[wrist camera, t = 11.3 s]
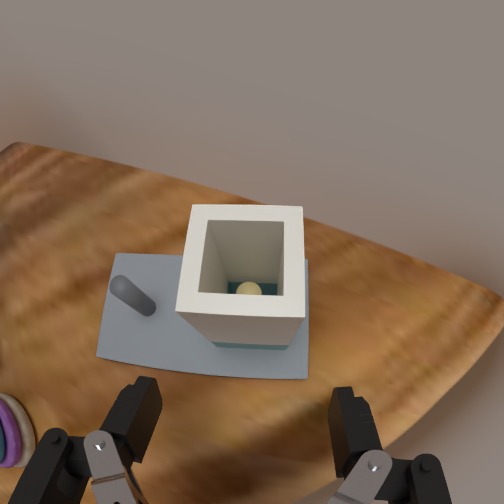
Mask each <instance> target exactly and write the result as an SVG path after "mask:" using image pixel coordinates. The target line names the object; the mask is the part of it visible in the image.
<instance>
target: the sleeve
mask: <svg viewBox="0 0 504 504" xmlns="http://www.w3.org/2000/svg"><path fill="white" fill-rule="evenodd" d="M244 282H254V283H256V284H257V285H258V286H259V287H260V289H261V292H262V295H243V294H236V291H237V288H238V287H239V286H240V285H241V284H242V283H244ZM271 295H276V296H271ZM175 311H176V312H177V313H178V314H179V315H180V316H181V317H182V318H183V319H185V320H186V321H187V322H188V323H189V324H190V325H191V326H193V327H194V328H195V329H196V330H197V331H198V332H200V333H201V334H202V335H203V336H204V337H206V338H207V339H208V340H209V341H210V342H211V343H213V344H214V345H215V346H216V347H226V348H242V349H265V350H286V349H287V347H288V346H289V344H290V342H291V341H292V339H293V337H294V336H295V334H296V332H297V330H298V329H299V327H300V325H301V324H302V322H303V320H304V318H305V263H304V231H303V208H302V206H275V205H192V210H191V216H190V221H189V226H188V232H187V237H186V243H185V249H184V255H183V261H182V267H181V274H180V280H179V287H178V294H177V301H176V309H175Z"/></svg>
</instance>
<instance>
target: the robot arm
mask: <svg viewBox="0 0 504 504" xmlns="http://www.w3.org/2000/svg"><path fill="white" fill-rule="evenodd" d="M161 411H162V398H161V394H160V391H159V387H158V384H157V380H156V379H155V378H151V377H145V376H139V377H138V378H137V380H136V382H135V384H134V385H130V384H129V385H127V386H126V387H125V388H124V389H123V390H121V392H120V393H119V395H118V397H117V400H116V401H115V402H114V404H113V406H112V408H111V409H110V411H109V413H108V415H107V417H106V419H105V420H104V422H103V424H102V426H101V428H100V429H99V430H97V431H93V432H91V433H89V434H88V435H87V436H86V437H76V436H68V435H67V433H66V432H65V431H64V430H63V429H60V428H52V429H49V430H47V431H46V432H45V433H44V435H43V437H42V438H41V440H40V442H39V444H38V445H37V447H36V449H35V451H34V453H33V455H32V456H31V458H30V460H29V462H28V464H27V466H26V468H25V470H24V472H23V473H22V475H21V477H20V479H19V481H18V483H17V485H16V487H15V490H14V492H13V494H12V496H11V498H10V500H9V502H8V504H80V502H81V499H82V496H83V493H84V491H85V488H86V486H87V483H88V480H89V478H90V477H93V482H91V486H92V490H93V493H94V496H95V499H96V502H97V504H149V503H148V502H147V500H146V498H145V497H144V494H143V492H142V490H141V488H140V486H139V484H138V482H137V480H136V477H135V475H134V473H133V470H132V468H131V466H132V463H133V461H134V462H138V463H142V460H143V457H144V455H145V452H146V450H147V447H148V444H149V442H150V439H151V437H152V434H153V431H154V429H155V426H156V424H157V421H158V419H159V416H160V413H161ZM328 423H329V430H330V436H331V442H332V449H333V456H334V463H335V470H336V477H337V478H342V477H344V482H343V484H342V485H341V486H340V488H339V489H338V490H337V492H336V493H335V494H334V495H333V496H332V497H331V499H330V500H329V501H328V502H327V504H371V502H372V501H373V500H386V501H388V504H452V502H451V498H450V495H449V491H448V487H447V483H446V480H445V477H444V473H443V470H442V467H441V463H440V461H439V460H438V458H437V457H435V456H434V455H432V454H421V455H419V456H417V457H416V458H415V459H414V460H401V459H394V458H392V457H390V456H389V455H388V454H387V453H386V452H384V451H383V449H382V446H381V443H380V439H379V436H378V433H377V429H376V426H375V423H374V419H373V416H372V413H371V410H370V406H369V404H368V403H367V402H366V401H365V399H364V398H363V397H354V393H353V390H352V387H351V386H350V387H335V388H334V390H333V393H332V397H331V401H330V405H329V409H328Z"/></svg>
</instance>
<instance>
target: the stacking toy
mask: <svg viewBox="0 0 504 504" xmlns="http://www.w3.org/2000/svg"><path fill="white" fill-rule="evenodd" d="M34 451H35V436H34V431H33V428H32V425H31V422H30V420H29V418H28V416H27V414H26V412H25V411H24V409H23V408H22V406H21V405H20V404H19V403H18V402H17V401H16V400H15V399H14V398H13V397H11V396H9V395H7V394H4V393H0V466H1V467H4V468H10V467H13V466H14V467H18V468H23V467H26V466H27V464H28V462H29V460H30V458H31V456H32V455H33V453H34Z"/></svg>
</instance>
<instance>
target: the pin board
mask: <svg viewBox="0 0 504 504" xmlns="http://www.w3.org/2000/svg"><path fill="white" fill-rule="evenodd" d="M182 261H183V255H157V254H130V253H116V256H115V260H114V264H113V268H112V272H111V276H110V281H109V285H108V290H107V295H106V300H105V305H104V310H103V315H102V321H101V327H100V333H99V340H98V347H97V354H96V357H100V358H104V359H108V360H113V361H118V362H123V363H128V364H134V365H139V366H145V367H151V368H157V369H164V370H171V371H178V372H186V373H195V374H204V375H215V376H227V377H241V378H261V379H308V335H309V306H308V259H304V263H305V318H304V320H303V322H302V324H301V325H300V327H299V329H298V330H297V332H296V334H295V336H294V337H293V339H292V341H291V342H290V344H289V346H288V347H287V349H286V350H265V349H242V348H226V347H216V346H215V345H214V344H213V343H211V342H210V341H209V340H208V339H207V338H206V337H204V336H203V335H202V334H201V333H200V332H198V331H197V330H196V329H195V328H194V327H193V326H191V325H190V324H189V323H188V322H187V321H186V320H185V319H183V318H182V317H181V316H180V315H179V314H178V313H177V312H176V311H175V309H176V301H177V294H178V287H179V280H180V274H181V267H182ZM236 294H243V295H262V292H261V289H260V287H259V286H258V285H257V284H256V283H254V282H244V283H242V284H241V285H240V286H239V287H238V288H237V291H236ZM271 296H276V295H271Z"/></svg>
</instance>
